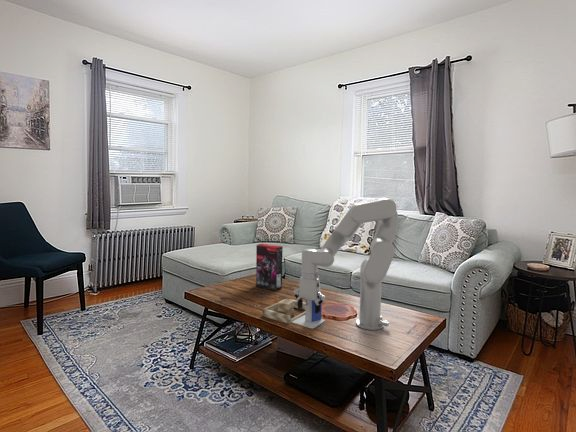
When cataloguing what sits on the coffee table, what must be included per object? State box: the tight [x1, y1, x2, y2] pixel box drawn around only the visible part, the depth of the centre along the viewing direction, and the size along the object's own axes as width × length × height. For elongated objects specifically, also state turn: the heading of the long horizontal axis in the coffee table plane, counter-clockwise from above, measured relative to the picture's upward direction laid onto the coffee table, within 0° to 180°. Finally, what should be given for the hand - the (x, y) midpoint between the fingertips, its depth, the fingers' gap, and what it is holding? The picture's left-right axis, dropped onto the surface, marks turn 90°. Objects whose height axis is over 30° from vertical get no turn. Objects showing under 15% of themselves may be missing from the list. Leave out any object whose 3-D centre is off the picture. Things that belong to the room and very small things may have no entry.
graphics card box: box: [255, 243, 284, 291], centre depth 221 cm, size 17×7×27 cm, turn 54°
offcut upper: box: [277, 298, 294, 313], centre depth 171 cm, size 6×6×4 cm
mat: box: [290, 315, 326, 330], centre depth 167 cm, size 12×12×1 cm
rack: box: [262, 298, 306, 324], centre depth 177 cm, size 16×21×4 cm
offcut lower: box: [276, 308, 295, 318], centre depth 172 cm, size 6×6×4 cm
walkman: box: [304, 297, 323, 323], centre depth 167 cm, size 8×3×12 cm, turn 122°
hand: (308, 310), depth 166 cm, fingers open, 9 cm apart
